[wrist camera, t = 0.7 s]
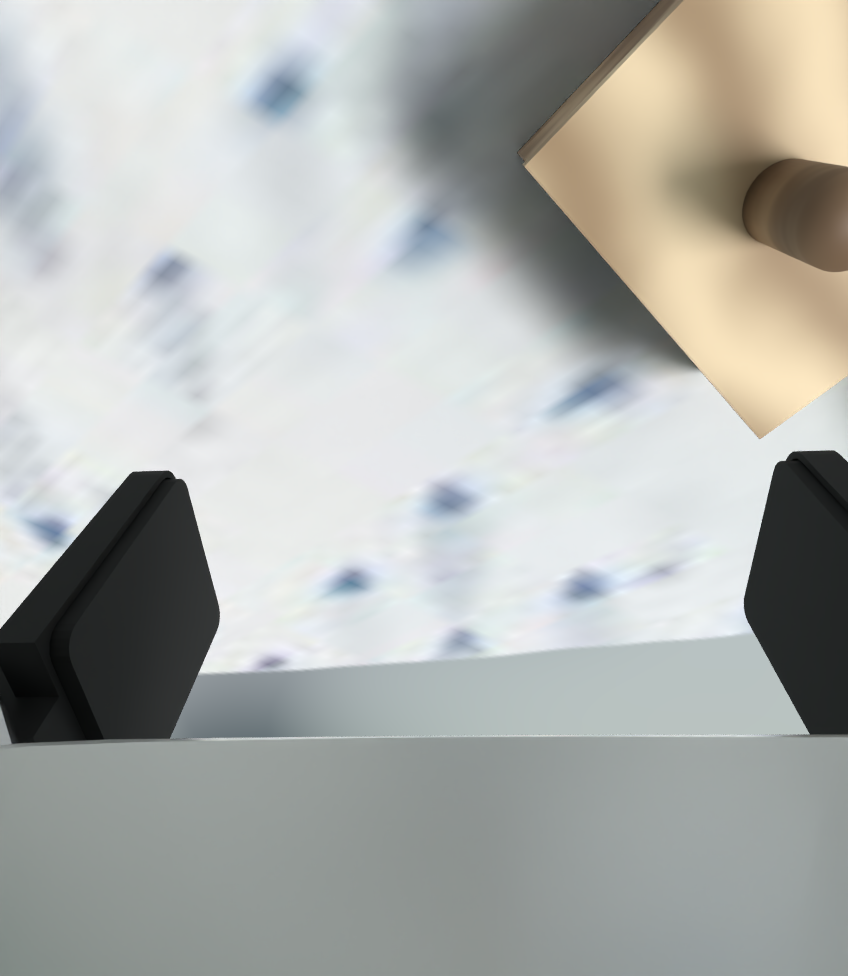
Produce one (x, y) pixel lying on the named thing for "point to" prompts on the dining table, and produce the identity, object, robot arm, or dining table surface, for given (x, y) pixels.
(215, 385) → the dining table surface
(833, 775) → the robot arm
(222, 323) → the dining table surface
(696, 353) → the lid
